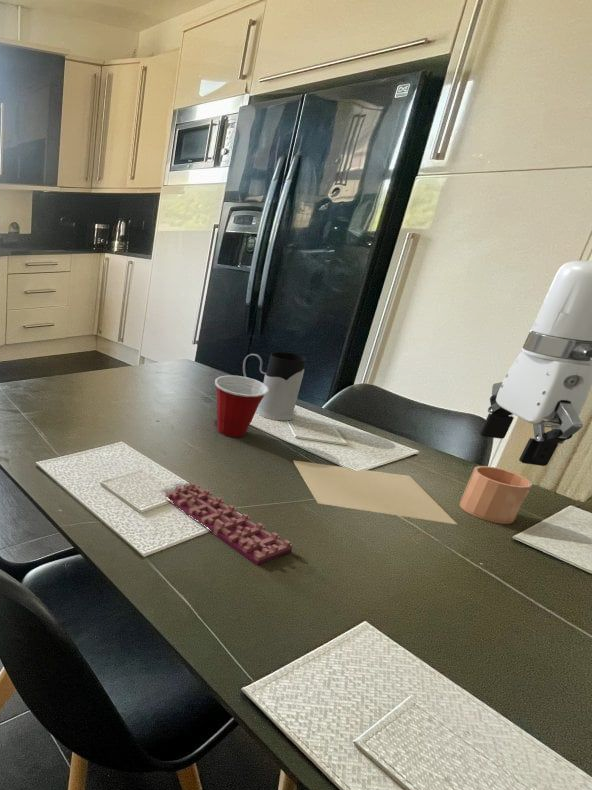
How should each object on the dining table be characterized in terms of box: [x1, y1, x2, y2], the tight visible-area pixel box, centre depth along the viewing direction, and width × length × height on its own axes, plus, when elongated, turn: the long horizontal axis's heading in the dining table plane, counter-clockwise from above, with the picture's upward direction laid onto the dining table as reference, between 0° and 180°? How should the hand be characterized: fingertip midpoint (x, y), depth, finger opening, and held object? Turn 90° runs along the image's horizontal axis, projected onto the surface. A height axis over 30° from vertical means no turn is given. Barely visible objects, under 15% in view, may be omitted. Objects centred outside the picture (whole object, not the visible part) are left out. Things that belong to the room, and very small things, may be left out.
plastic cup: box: [214, 375, 269, 438], centre depth 109 cm, size 11×11×12 cm
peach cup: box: [458, 465, 533, 525], centre depth 81 cm, size 7×7×7 cm
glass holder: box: [242, 351, 307, 422], centre depth 121 cm, size 9×14×15 cm, turn 39°
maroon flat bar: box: [165, 482, 294, 566], centre depth 78 cm, size 7×19×2 cm, turn 24°
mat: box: [292, 460, 458, 525], centre depth 87 cm, size 20×20×1 cm
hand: (510, 449), depth 78 cm, fingers open, 9 cm apart
